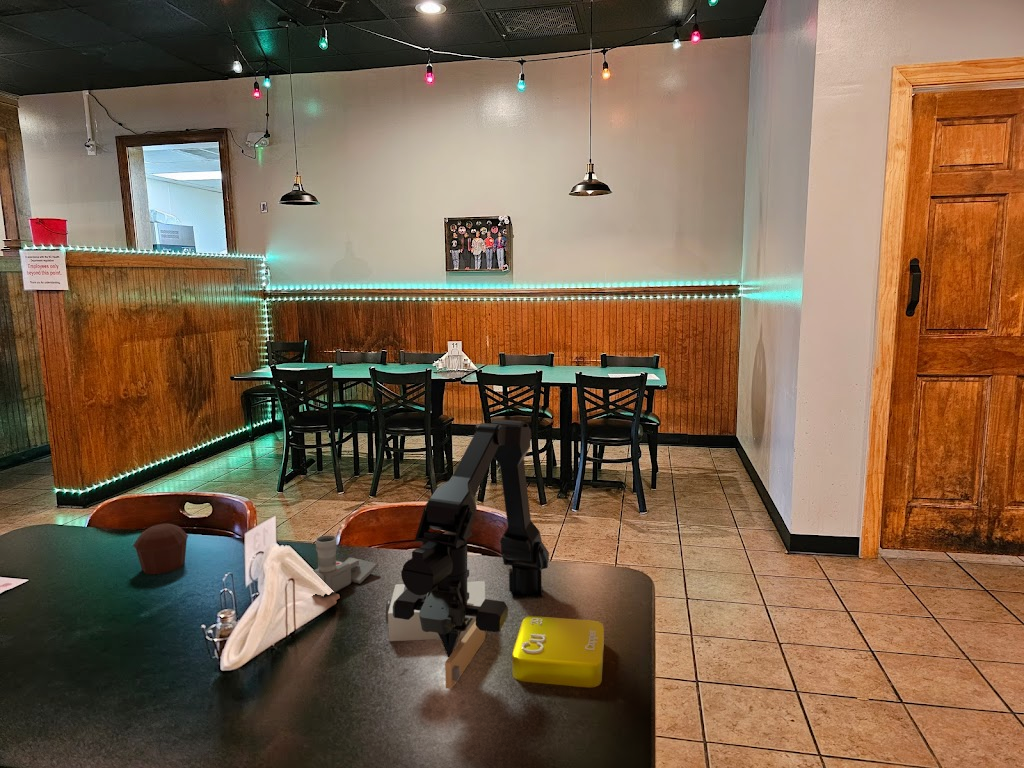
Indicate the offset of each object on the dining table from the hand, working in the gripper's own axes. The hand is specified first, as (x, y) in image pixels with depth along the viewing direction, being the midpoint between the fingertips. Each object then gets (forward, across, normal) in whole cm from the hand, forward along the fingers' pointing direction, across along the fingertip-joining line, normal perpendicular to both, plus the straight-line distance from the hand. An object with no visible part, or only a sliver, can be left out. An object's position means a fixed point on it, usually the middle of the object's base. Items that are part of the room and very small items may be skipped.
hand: (450, 656), depth 111 cm
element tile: (+3, +17, +8) cm, 19 cm away
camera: (+4, -35, +27) cm, 44 cm away
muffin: (+5, -81, +25) cm, 85 cm away
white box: (+3, -8, +15) cm, 17 cm away
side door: (+2, +3, +3) cm, 4 cm away
